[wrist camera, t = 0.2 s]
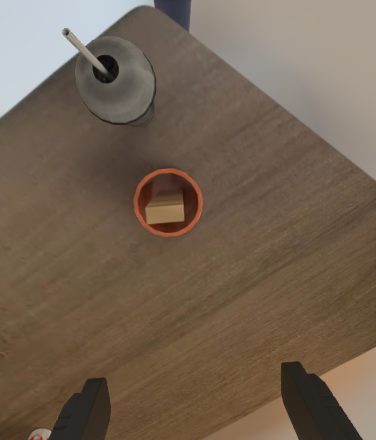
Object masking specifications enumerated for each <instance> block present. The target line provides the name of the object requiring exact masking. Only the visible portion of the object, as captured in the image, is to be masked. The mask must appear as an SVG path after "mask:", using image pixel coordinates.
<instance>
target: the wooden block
mask: <svg viewBox="0 0 376 440" xmlns="http://www.w3.org/2000/svg"><path fill="white" fill-rule="evenodd" d="M145 211H146V220H147V224H156V223H168V222H180V221H184V206H183V192H182V190H170V191H158V192H157V194H156V195H155V196H154V197H153V199H152V200H151V201H150V202H149V204H148V205H147V206H146V207H145Z"/></svg>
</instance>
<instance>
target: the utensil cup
mask: <svg viewBox="0 0 376 440" xmlns="http://www.w3.org/2000/svg"><path fill="white" fill-rule="evenodd" d="M170 190H182V192H183V206H184V221H180V222H168V223H156V224H147V220H146V211H145V207H146V206H147V205H148V204H149V202H150V201H151V200H152V199H153V197H154V196H155V195H156V194H157V192H158V191H170ZM133 201H134V209H135V214H136V216H137V217H138V219H139V221H140V223H141V224H142V225H143V226H144V227H145V228H146V229H148V230H149V231H150V232H151V233H154V234H157V235H160V236H163V237H170V236H179V235H181V234H183V233H185V232H187V231H189V230H190V229H191V228H192V227H193V226H194V225H195V223H196V222H197V221H198V220H199V217H200V214H201V211H202V208H203V204H202V193H201V191H200V189H199V187H198V185H197V183H196V182H195V180H194V179H193V178H192V177H191V176H190V175H189V174H187V173H186V172H185V171H183V170H180V169H177V168H173V167H172V168H162V169H158V170H156V171H154V172H152V173H150V174H148V175H146V176H145V177H144V179H143V180H142V181H141V182H140V183H139V185H138V186H137V188H136V192H135V195H134V200H133Z"/></svg>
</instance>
